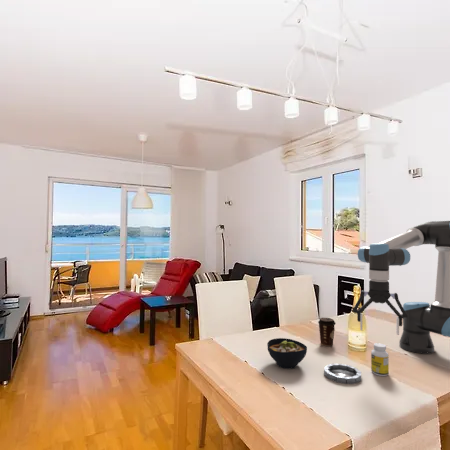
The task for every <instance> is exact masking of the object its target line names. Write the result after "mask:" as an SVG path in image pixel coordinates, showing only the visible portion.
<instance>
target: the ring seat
mask: <svg viewBox="0 0 450 450" xmlns="http://www.w3.org/2000/svg"><path fill="white" fill-rule="evenodd" d="M323 375H324V376H325V377H326V378H327V379H328V380H330V381H333V382H336V383H338V384H339V383H340V384H345V385H346V384H347V385H352V384H358V383H360V382H361V381H362V371H361V370H360V369H358V368H357V367H354V366H352V365H349V364H345V363H330V364H327V365H325V366H324V368H323Z"/></svg>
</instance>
